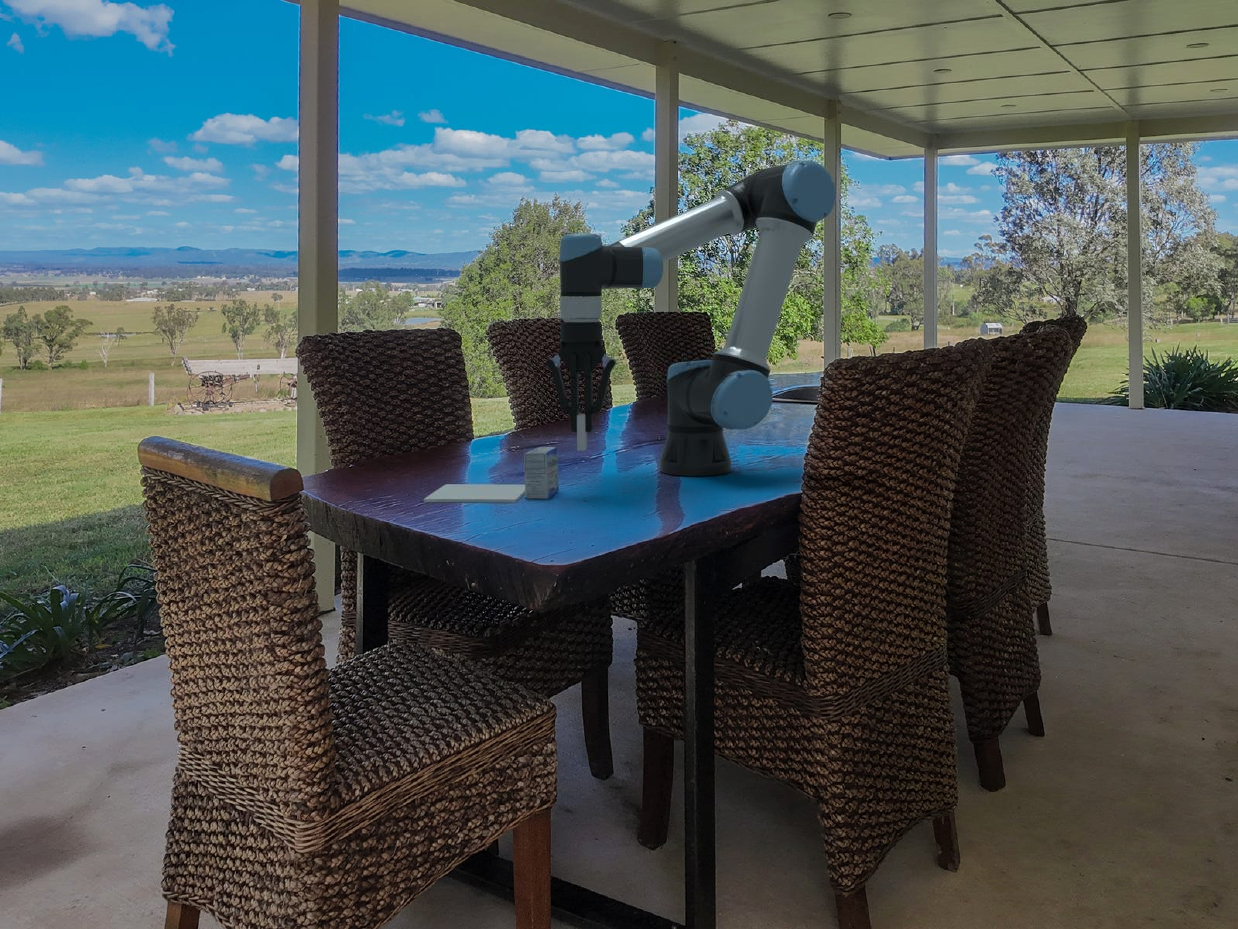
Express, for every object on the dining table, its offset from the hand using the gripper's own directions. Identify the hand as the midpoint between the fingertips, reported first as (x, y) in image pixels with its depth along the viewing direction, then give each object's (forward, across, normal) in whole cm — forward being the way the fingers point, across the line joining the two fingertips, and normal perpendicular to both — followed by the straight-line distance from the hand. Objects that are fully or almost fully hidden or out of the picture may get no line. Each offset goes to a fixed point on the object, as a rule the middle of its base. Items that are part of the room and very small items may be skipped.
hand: (582, 449), depth 188 cm
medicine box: (+9, +8, 0) cm, 12 cm away
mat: (+9, +20, 0) cm, 22 cm away
